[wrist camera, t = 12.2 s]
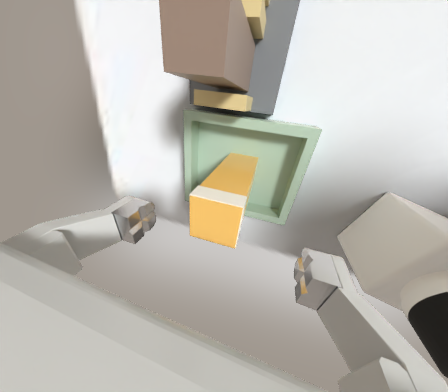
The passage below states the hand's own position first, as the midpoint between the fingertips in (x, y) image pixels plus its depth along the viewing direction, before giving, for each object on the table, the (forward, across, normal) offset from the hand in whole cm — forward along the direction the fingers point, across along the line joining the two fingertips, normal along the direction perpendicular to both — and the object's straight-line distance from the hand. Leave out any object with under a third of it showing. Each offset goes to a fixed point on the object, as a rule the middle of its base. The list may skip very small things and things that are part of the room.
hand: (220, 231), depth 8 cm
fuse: (+11, +1, 0) cm, 11 cm away
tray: (+12, +1, 0) cm, 12 cm away
